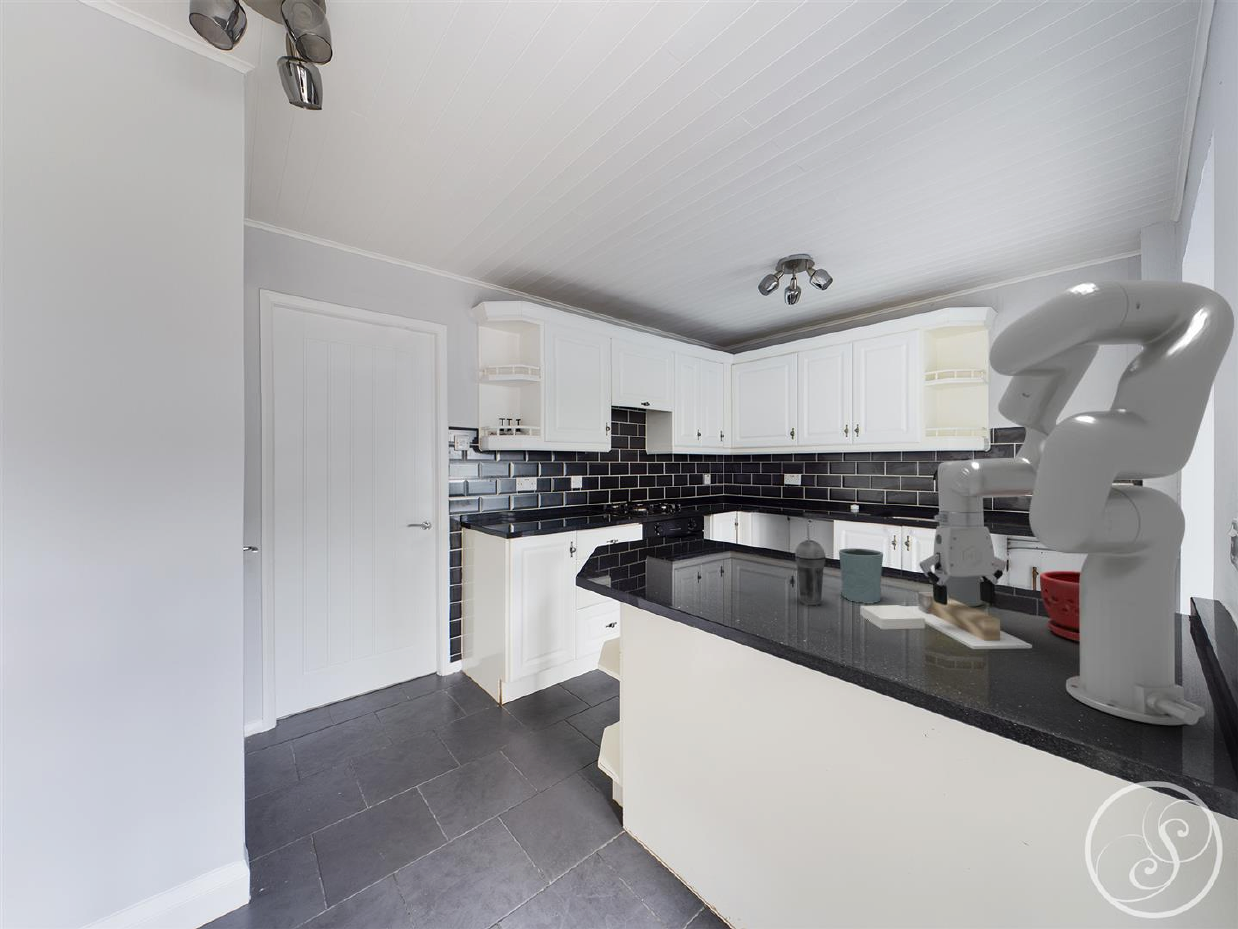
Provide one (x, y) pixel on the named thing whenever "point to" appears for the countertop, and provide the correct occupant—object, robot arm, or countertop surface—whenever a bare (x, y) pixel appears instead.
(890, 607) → the tile
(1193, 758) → the countertop surface
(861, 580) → the teal round container
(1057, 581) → the plant pot
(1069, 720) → the countertop surface
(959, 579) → the water bottle
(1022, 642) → the rest mat
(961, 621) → the wooden beam
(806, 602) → the beverage cup
